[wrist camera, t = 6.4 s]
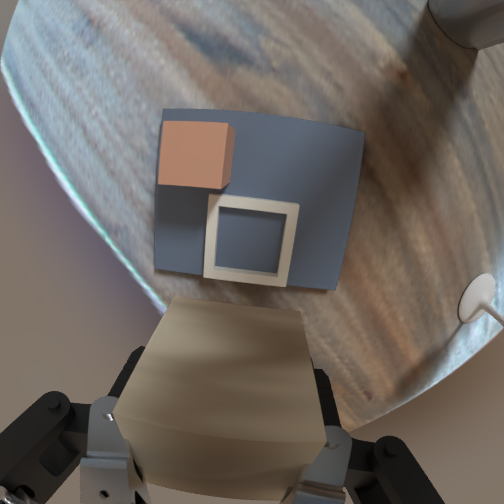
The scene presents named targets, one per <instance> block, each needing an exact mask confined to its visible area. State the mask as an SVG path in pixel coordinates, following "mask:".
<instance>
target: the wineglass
mask: <svg viewBox="0 0 504 504" xmlns="http://www.w3.org/2000/svg"><path fill="white" fill-rule="evenodd" d="M494 292H495V282H494V278H493V277H492V275H490V274H487V273H485V274H481V275H479V276H478V277H476V278H475V279H474V280H473V281H472V282H471V283H470V284H469V286H468V287H467V289H466V290H465V292H464V294H463V296H462V298H461V301H460V305H459V317H460V319H461V321H462V322H464V323H471V322H474V321H476V320H477V319H479V318H480V317H481V316H482V315H483V314H484V313H485V312H488V313H489V314H490V315H492V316H493V317H494V318H495V319H496V320H497V321H498V322H499V323H500V324H501V325H502V326H503V327H504V317H502V316H501V315H500V314H499V313H498V312H497V311H496V310H495V309H494V308H493V307H492V306H491V305H490V304H491V302H492V299H493V296H494Z"/></svg>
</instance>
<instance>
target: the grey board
mask: <svg viewBox="0 0 504 504" xmlns="http://www.w3.org/2000/svg"><path fill="white" fill-rule="evenodd" d="M163 121H199V122H219V123H228V124H229V125H230V126H231V127H232V128H233V129H234V130H235V131H236V133H235V141H234V150H233V159H232V168H231V177H230V183H228V184H227V185H226V186H224V187H223V188H222V189H215V188H204V187H192V186H179V185H164V184H158V176H159V162H160V150H161V140H162V130H163ZM364 139H365V132H361V131H357V130H353V129H349V128H344V127H340V126H335V125H330V124H326V123H320V122H315V121H310V120H304V119H298V118H292V117H285V116H278V115H270V114H262V113H252V112H241V111H229V110H211V109H163V113H162V121H161V130H160V140H159V150H158V162H157V177H156V196H155V269H161V270H168V271H175V272H182V273H190V274H197V275H204V278H212V279H220V280H228V281H236V282H244V283H252V284H261V285H270V286H279V287H286V285H288V286H298V287H308V288H318V289H328V290H336V287H337V283H338V279H339V275H340V271H341V267H342V263H343V259H344V254H345V250H346V245H347V241H348V236H349V231H350V226H351V221H352V216H353V211H354V206H355V200H356V194H357V188H358V182H359V176H360V169H361V162H362V155H363V147H364Z"/></svg>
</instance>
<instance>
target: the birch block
mask: <svg viewBox="0 0 504 504" xmlns="http://www.w3.org/2000/svg"><path fill="white" fill-rule="evenodd" d="M112 413H113V416H114V418H115V420H116V423H117V425H118V427H119V429H120V432H121V434H122V436H123V438H124V439H127V440H129V442H130V444H131V446H132V453H133V458H134V460H135V462H136V464H137V466H140V467H142V468H143V470H144V473H145V480H146V482H147V483H150V484H154V485H158V486H162V487H166V488H170V489H175V490H179V491H184V492H189V493H195V494H201V495H208V496H214V497H223V498H232V499H246V500H271V501H275V500H276V501H281V499H282V497H283V495H284V492H285V490H286V489H287V488H288V487H294V485H295V482H296V480H297V477H298V474H299V472H300V470H301V468H302V467H303V465H304V464H312V463H313V461H314V460H315V459H316V457H317V456H318V454H319V453H320V451H321V450H322V448H323V447H324V445H325V444H326V442H327V438H326V433H325V427H324V422H323V417H322V412H321V406H320V401H319V396H318V391H317V386H316V382H315V377H314V372H313V367H312V362H311V358H310V353H309V349H308V344H307V340H306V335H305V331H304V326H303V322H302V317H301V313H300V311H293V310H283V309H273V308H264V307H255V306H246V305H238V304H230V303H222V302H215V301H207V300H200V299H194V298H187V297H180V296H174V298H173V300H172V302H171V303H170V305H169V307H168V309H167V310H166V312H165V314H164V316H163V317H162V319H161V321H160V323H159V325H158V326H157V328H156V330H155V332H154V333H153V335H152V337H151V339H150V341H149V343H148V344H147V346H146V348H145V350H144V352H143V354H142V355H141V357H140V359H139V361H138V363H137V365H136V367H135V369H134V370H133V372H132V374H131V376H130V378H129V380H128V382H127V384H126V386H125V388H124V390H123V392H122V394H121V396H120V398H119V400H118V402H117V403H116V406H115V408H114V410H113V412H112Z"/></svg>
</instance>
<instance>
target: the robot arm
mask: <svg viewBox="0 0 504 504" xmlns="http://www.w3.org/2000/svg"><path fill="white" fill-rule="evenodd" d="M429 9H430V12H431V14H432V16H433V18H434V19H435V21H436V23H437V24H438V25H439V27H440V28H441V29H442V30H443V31H444V33H445V34H446V35H447V36H448V37H449V38H451V39H452V40H453V41H454V42H456V43H457V44H459V45H460V46H463V47H465V48H476V49H478V50H481V49H484V48H487V47H490V46H494V45H497V44H500V43H504V0H429ZM145 348H146V347H143V346H140V347H139V348H137V349H136V350H135V351H133V352H132V353H131V355H130V357H129V359H128V360H127V363H126V364H125V365H124V367H123V370H122V371H121V373H120V374H119V376H118V378H117V379H116V381H115V383H114V385H113V387H112V388H111V390H110V392H109V394H108V395H107V396H105V397H101V398H98V399H97V400H95V401H94V402H93V403H92V404H80V403H70V401H69V399H68V397H67V396H66V395H65V394H63V393H61V392H58V391H51V392H48V393H45V394H44V395H43V396H42V397H40V398H39V399H38V400H37V401H36V402H35V403H33V404H32V406H30V407H29V408H28V409H27V410H26V411H25V412H24V413H22V414H21V415H20V416H19V417H18V418H17V419H16V420H15V421H13V422H12V423H11V424H10V425H9V426H8V427H7V428H6V429H5V430H4V431H3V432H2V433H0V504H45V503H46V502H47V501H48V500H49V499H50V497H51V496H52V495H53V494H54V493H55V492H56V490H57V489H58V488H59V487H60V486H61V485H62V484H63V482H64V481H65V480H66V479H67V478H68V477H69V475H70V474H71V473H72V472H73V471H74V470H75V468H76V467H77V466H78V465H79V464H80V499H81V504H151V499H150V496H149V493H148V490H147V486H146V480H145V473H144V470H143V468H142V467H140V466H137V464H136V462H135V460H134V458H133V453H132V446H131V444H130V442H129V440H127V439H124V438H123V436H122V434H121V432H120V429H119V427H118V425H117V423H116V420H115V418H114V416H113V413H112V412H113V410H114V408H115V406H116V403H117V402H118V400H119V398H120V396H121V394H122V392H123V390H124V388H125V386H126V384H127V382H128V380H129V378H130V376H131V374H132V372H133V370H134V369H135V367H136V365H137V363H138V361H139V359H140V357H141V355H142V354H143V352H144V350H145ZM310 358H311V357H310ZM311 362H312V358H311ZM312 367H313V362H312ZM313 372H314V377H315V382H316V386H317V391H318V396H319V401H320V406H321V412H322V417H323V422H324V427H325V433H326V438H327V442H326V444H325V445H324V447H323V448H322V450H321V451H320V453H319V454H318V456H317V457H316V459H315V460H314V461H313V463H312V464H304V465H303V467H302V468H301V470H300V472H299V474H298V477H297V480H296V482H295V485H294V487H288V488H287V489H286V490H285V492H284V495H283V497H282V499H281V502H280V504H344V503H345V498H346V495H345V492H343V490H342V489H343V487H346V489H347V491H348V493H349V495H350V497H351V499H352V501H353V503H354V504H445V503H444V501H443V500H442V498H441V497H440V495H439V494H438V492H437V491H436V489H435V488H434V486H433V485H432V483H431V482H430V480H429V479H428V477H427V476H426V474H425V473H424V471H423V470H422V468H421V467H420V465H419V464H418V462H417V461H416V459H415V458H414V456H413V455H412V453H411V452H410V450H409V449H408V448H407V446H406V445H405V443H404V442H403V441H402V440H401V439H399V438H397V437H394V436H384V437H382V438H380V439H378V440H377V441H376V443H374V442H368V441H361V440H357V439H354V438H352V437H351V436H350V434H349V433H348V432H347V431H346V430H344V429H343V428H342V427H341V424H340V420H339V416H338V411H337V407H336V403H335V399H334V397H333V392H332V389H331V384H330V380H329V377H328V376H327V375H326V373H325V372H324V371H323V370H322V369H314V367H313Z"/></svg>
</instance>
